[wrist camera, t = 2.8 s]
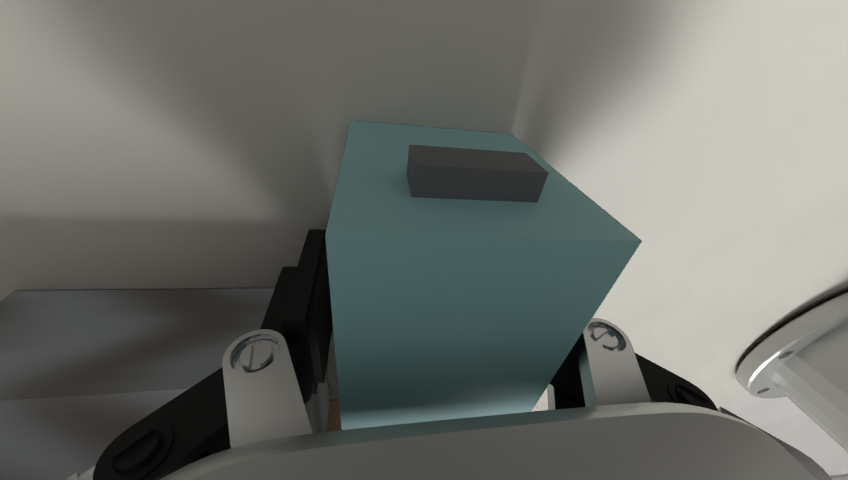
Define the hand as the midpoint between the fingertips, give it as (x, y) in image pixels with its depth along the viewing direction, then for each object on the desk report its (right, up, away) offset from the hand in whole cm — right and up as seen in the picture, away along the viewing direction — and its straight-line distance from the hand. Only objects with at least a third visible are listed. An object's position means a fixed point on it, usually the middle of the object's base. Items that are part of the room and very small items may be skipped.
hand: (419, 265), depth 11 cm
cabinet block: (0, 0, +1) cm, 1 cm away
